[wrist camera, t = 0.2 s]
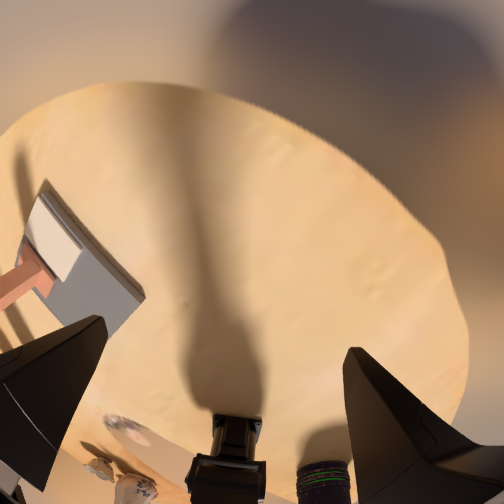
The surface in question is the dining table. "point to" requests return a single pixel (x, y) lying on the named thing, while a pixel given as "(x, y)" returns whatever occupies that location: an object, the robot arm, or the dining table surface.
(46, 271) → the stub
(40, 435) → the robot arm
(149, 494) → the chinaware
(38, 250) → the ticket board
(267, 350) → the dining table surface
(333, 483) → the storage jar
